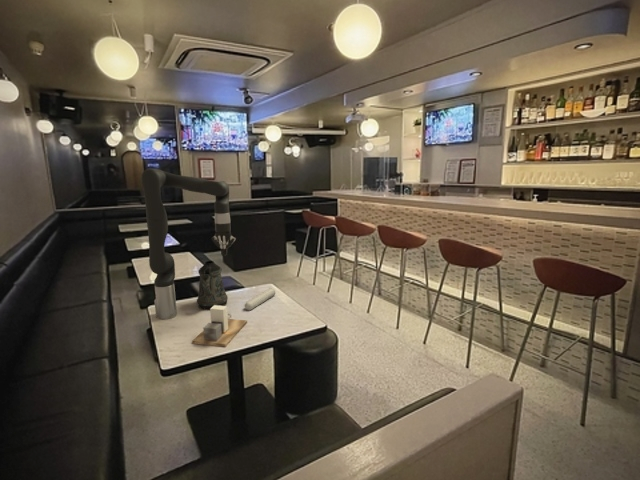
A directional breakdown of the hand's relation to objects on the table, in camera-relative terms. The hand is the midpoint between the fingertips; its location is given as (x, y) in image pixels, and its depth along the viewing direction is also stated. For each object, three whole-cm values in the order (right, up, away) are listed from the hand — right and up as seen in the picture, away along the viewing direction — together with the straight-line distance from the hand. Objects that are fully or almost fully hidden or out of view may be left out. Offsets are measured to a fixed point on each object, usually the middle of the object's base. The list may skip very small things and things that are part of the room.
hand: (224, 255), depth 181 cm
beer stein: (-11, -29, +19) cm, 36 cm away
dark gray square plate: (+1, -35, -17) cm, 39 cm away
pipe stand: (+2, -36, -14) cm, 38 cm away
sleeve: (+2, -34, -15) cm, 37 cm away
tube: (+14, -28, +22) cm, 39 cm away
